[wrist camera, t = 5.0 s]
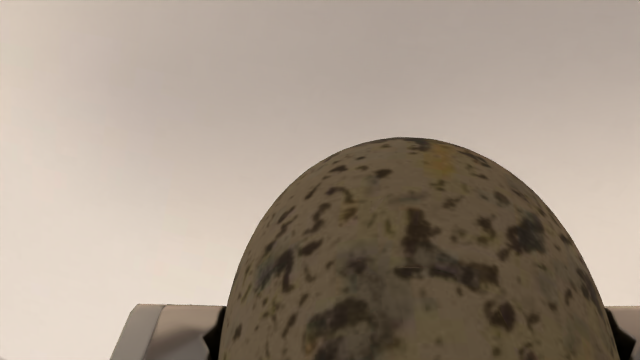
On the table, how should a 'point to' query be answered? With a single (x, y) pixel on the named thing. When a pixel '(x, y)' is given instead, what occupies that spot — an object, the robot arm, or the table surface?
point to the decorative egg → (412, 266)
